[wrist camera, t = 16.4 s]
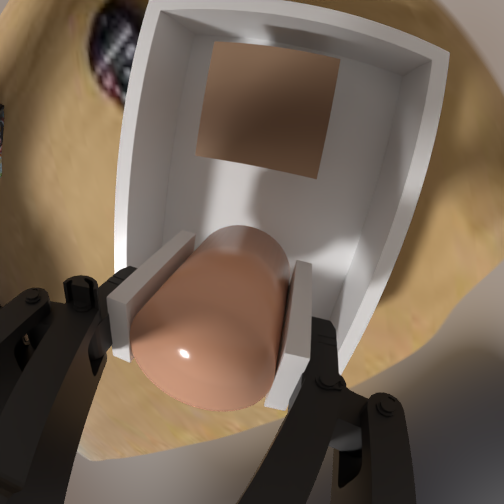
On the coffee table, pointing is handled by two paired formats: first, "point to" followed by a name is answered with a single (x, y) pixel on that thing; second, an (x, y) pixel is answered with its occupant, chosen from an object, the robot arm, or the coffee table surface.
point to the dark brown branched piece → (1, 133)
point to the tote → (272, 181)
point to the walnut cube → (267, 107)
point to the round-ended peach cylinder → (217, 322)
